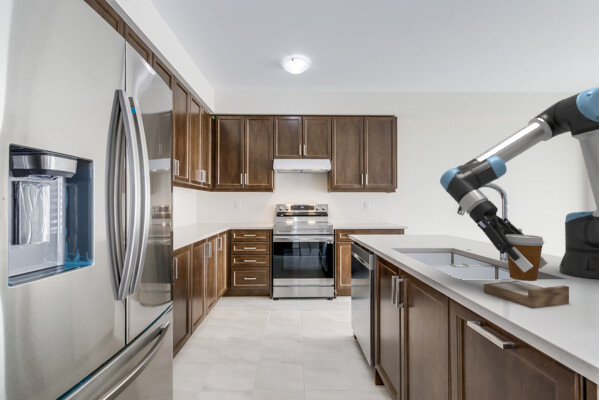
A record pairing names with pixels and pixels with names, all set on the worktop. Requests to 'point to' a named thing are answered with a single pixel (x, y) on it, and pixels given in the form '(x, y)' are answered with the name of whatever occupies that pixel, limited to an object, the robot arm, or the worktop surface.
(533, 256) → the disposable coffee cup
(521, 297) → the dock board
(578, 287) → the worktop surface
